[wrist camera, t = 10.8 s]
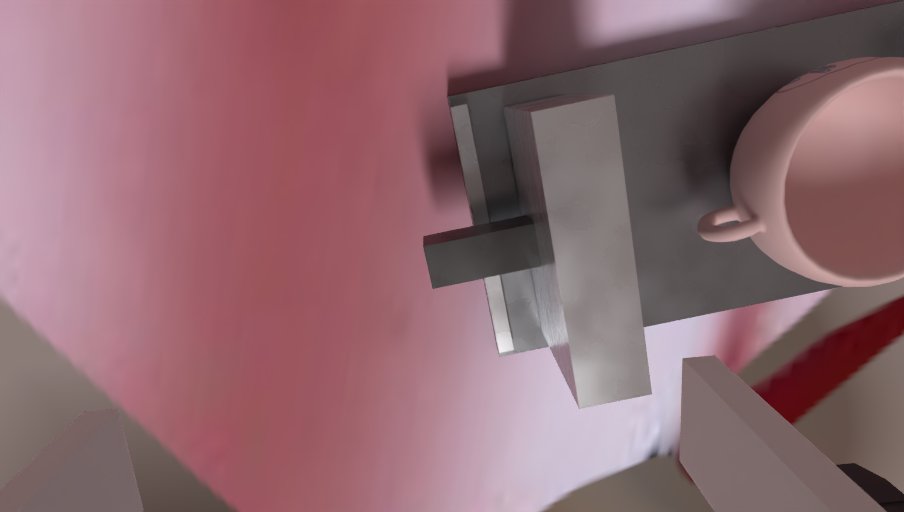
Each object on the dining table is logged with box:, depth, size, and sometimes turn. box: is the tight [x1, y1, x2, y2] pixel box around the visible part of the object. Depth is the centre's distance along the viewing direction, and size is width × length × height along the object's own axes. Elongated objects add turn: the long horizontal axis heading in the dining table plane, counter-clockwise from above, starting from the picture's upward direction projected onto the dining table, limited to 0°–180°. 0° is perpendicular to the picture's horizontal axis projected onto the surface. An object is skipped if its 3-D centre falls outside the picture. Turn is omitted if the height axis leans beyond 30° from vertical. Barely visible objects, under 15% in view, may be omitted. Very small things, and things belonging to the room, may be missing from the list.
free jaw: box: [423, 94, 652, 409], centre depth 27 cm, size 12×8×8 cm, turn 12°
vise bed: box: [447, 0, 904, 357], centre depth 27 cm, size 14×30×9 cm, turn 102°
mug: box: [697, 57, 904, 287], centre depth 28 cm, size 12×10×6 cm
